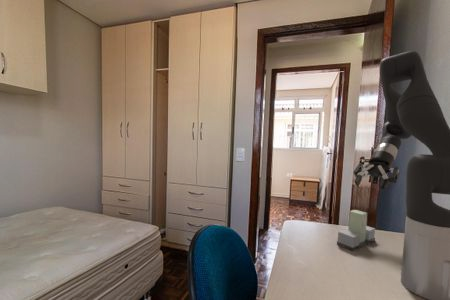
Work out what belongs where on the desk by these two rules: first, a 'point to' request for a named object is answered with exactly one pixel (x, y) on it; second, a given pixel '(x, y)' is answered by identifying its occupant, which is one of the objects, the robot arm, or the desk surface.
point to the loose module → (358, 223)
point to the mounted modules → (354, 236)
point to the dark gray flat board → (358, 245)
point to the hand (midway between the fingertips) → (368, 186)
